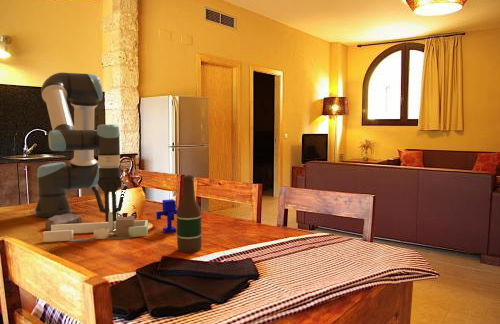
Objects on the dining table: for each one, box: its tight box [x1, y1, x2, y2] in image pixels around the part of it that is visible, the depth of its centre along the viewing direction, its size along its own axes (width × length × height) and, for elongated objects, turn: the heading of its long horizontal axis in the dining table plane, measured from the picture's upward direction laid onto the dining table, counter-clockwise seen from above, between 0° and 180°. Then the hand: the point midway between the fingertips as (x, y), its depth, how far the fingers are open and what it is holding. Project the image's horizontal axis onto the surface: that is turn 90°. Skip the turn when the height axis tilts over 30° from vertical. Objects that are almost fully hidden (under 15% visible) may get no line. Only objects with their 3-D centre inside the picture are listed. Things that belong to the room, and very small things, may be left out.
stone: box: [44, 213, 83, 231], centre depth 161 cm, size 12×9×5 cm
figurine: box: [155, 198, 177, 234], centre depth 152 cm, size 8×8×12 cm
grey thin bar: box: [69, 236, 131, 243], centre depth 142 cm, size 2×20×1 cm, turn 102°
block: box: [115, 215, 136, 237], centre depth 150 cm, size 6×6×6 cm
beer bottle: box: [176, 174, 203, 254], centre depth 129 cm, size 8×8×24 cm
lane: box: [42, 219, 149, 243], centre depth 148 cm, size 11×35×4 cm, turn 102°
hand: (111, 230), depth 149 cm, fingers closed
